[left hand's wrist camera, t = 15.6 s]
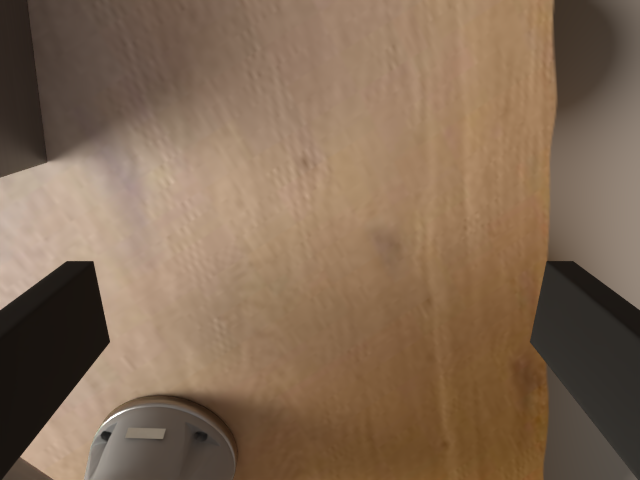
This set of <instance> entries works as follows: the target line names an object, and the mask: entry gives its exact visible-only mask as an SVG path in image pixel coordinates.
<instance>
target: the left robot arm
mask: <svg viewBox="0 0 640 480" xmlns="http://www.w3.org/2000/svg"><path fill="white" fill-rule="evenodd" d="M109 343H110V340H109V335H108V330H107V325H106V320H105V315H104V311H103V306H102V301H101V296H100V291H99V286H98V282H97V277H96V272H95V267H94V262H93V261H67V262H65V263H64V264H62V265H61V266H60V267H58V268H57V269H56V270H54V271H53V272H52V273H50V274H49V275H48V276H46V277H45V278H43V279H42V280H41V281H39V282H38V283H37V284H35V285H34V286H33V287H31V288H30V289H29V290H27V291H26V292H24V293H23V294H22V295H20V296H19V297H18V298H16V299H15V300H14V301H12V302H11V303H10V304H8V305H7V306H5V307H4V308H3V309H1V310H0V480H53V479H52V478H50V477H49V476H47V475H46V474H44V473H43V472H41V471H40V470H38V469H37V468H35V467H34V466H32V465H31V464H29V463H28V462H26V461H25V460H23V459H22V458H21V457H20V456H21V455H22V453H23V452H24V451H25V450H26V448H27V447H28V446H29V445H30V443H31V442H32V441H33V439H34V438H35V437H36V436H37V434H38V433H39V432H40V431H41V429H42V428H43V427H44V425H45V424H46V423H47V422H48V420H49V419H50V418H51V417H52V415H53V414H54V413H55V411H56V410H57V409H58V408H59V406H60V405H61V404H62V403H63V401H64V400H65V399H66V397H67V396H68V395H69V394H70V392H71V391H72V390H73V389H74V387H75V386H76V385H77V383H78V382H79V381H80V380H81V378H82V377H83V376H84V375H85V373H86V372H87V371H88V369H89V368H90V367H91V366H92V364H93V363H94V362H95V361H96V359H97V358H98V357H99V355H100V354H101V353H102V352H103V350H104V349H105V348H106V346H107V345H108V344H109ZM530 343H531V344H532V345H533V346H534V348H535V349H536V350H537V352H538V353H539V354H540V355H541V357H542V358H543V359H544V361H545V362H546V363H547V364H548V366H549V367H550V368H551V369H552V371H553V372H554V373H555V374H556V376H557V377H558V378H559V380H560V381H561V382H562V383H563V385H564V386H565V387H566V389H567V390H568V391H569V392H570V394H571V395H572V396H573V397H574V399H575V400H576V401H577V403H578V404H579V405H580V406H581V408H582V409H583V410H584V411H585V413H586V414H587V415H588V417H589V418H590V419H591V420H592V422H593V423H594V424H595V425H596V427H597V428H598V429H599V431H600V432H601V433H602V434H603V436H604V437H605V438H606V439H607V441H608V442H609V443H610V445H611V446H612V447H613V448H614V450H615V451H616V452H617V453H618V455H619V456H620V457H621V459H622V460H623V461H624V462H625V464H626V465H627V466H628V468H629V469H630V470H631V471H632V473H633V474H634V475H635V476H636V478H637V479H638V480H640V310H639V309H637V308H636V307H635V306H633V305H632V304H630V303H629V302H628V301H626V300H625V299H624V298H622V297H621V296H620V295H618V294H617V293H616V292H614V291H613V290H611V289H610V288H609V287H607V286H606V285H605V284H603V283H602V282H601V281H599V280H598V279H597V278H595V277H594V276H592V275H591V274H590V273H588V272H587V271H586V270H584V269H583V268H582V267H580V266H579V265H578V264H576V263H575V262H573V261H547V262H546V267H545V272H544V277H543V282H542V286H541V291H540V296H539V301H538V306H537V311H536V315H535V320H534V325H533V330H532V335H531V340H530ZM237 457H238V454H237V446H236V442H235V440H234V437H233V435H232V433H231V432H230V430H229V429H228V427H227V426H226V425H225V424H224V422H223V421H222V420H221V419H220V418H218V417H217V416H216V415H215V414H214V413H212V412H211V411H209V410H208V409H206V408H204V407H202V406H200V405H198V404H196V403H194V402H191V401H188V400H184V399H181V398H176V397H169V396H149V397H142V398H138V399H134V400H131V401H129V402H126V403H124V404H122V405H120V406H119V407H117V408H116V409H115V410H113V411H112V412H111V413H110V414H109V415H108V416H107V417H106V419H105V420H104V422H103V423H102V425H101V426H100V428H99V430H98V431H97V433H96V435H95V437H94V439H93V442H92V445H91V448H90V452H89V457H88V462H87V467H86V472H85V477H84V480H233V478H234V473H235V469H236V464H237Z"/></svg>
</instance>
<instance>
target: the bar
mask: <svg viewBox="0 0 640 480" xmlns="http://www.w3.org/2000/svg"><path fill="white" fill-rule="evenodd" d="M44 163H47V159H46V151H45V143H44V135H43V127H42V119H41V111H40V103H39V95H38V87H37V79H36V71H35V63H34V55H33V47H32V39H31V31H30V24H29V16H28V8H27V0H0V177H3V176H6V175H9V174H12V173H16V172H19V171H22V170H25V169H28V168H31V167H34V166H37V165H40V164H44Z"/></svg>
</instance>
